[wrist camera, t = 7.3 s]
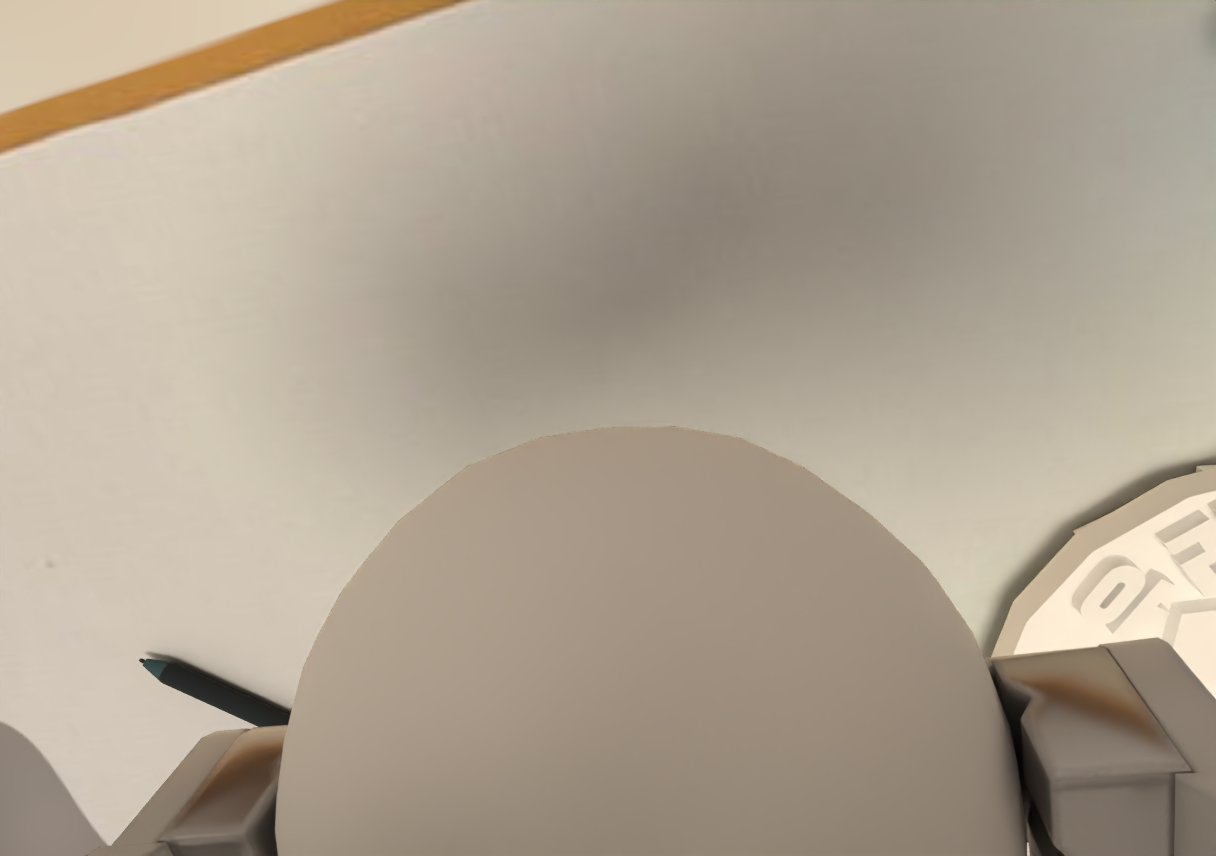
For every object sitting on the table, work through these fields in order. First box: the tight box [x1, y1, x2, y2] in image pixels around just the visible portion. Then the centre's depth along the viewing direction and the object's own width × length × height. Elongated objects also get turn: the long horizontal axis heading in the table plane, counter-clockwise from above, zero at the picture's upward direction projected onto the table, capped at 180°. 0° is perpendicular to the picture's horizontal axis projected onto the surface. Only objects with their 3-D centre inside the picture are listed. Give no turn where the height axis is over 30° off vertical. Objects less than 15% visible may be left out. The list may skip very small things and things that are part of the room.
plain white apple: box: [275, 426, 1027, 856], centre depth 8 cm, size 7×7×8 cm
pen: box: [139, 659, 290, 727], centre depth 39 cm, size 1×16×1 cm, turn 65°
